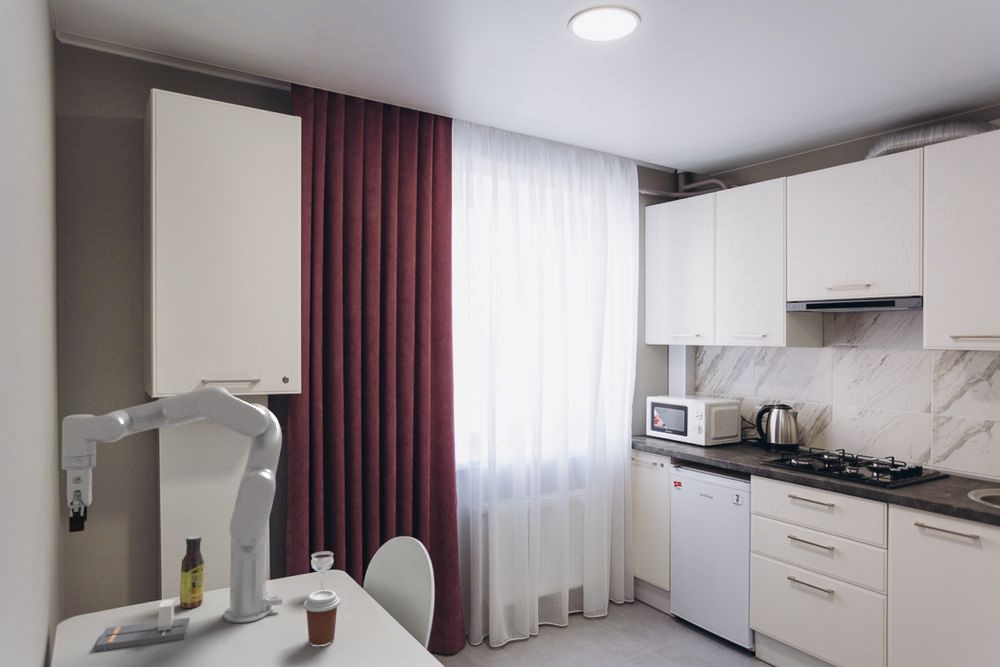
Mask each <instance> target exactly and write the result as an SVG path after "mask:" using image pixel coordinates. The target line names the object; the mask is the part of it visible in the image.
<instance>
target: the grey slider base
mask: <svg viewBox="0 0 1000 667" xmlns="http://www.w3.org/2000/svg"><path fill="white" fill-rule="evenodd" d="M190 620H191V618H190V617H183V618H174V623H173V625H172V628H171V629H169V630H161V631H158V621H151V622H150V621H149V622H144V623H137V624H136V623H135V624H128V625H122V626H121V625H119V626H113V627H106V628H105V630H104V631H103V633H102V635H101V636H100V638H99V640H98V641H97V643H96V644H95V652H98V651H97V650H102V651H105V650H104V649H109V650H112V649H111V648H116V649H121V648H120V647H123V648H128V646H130V647H137V645H138V646H143V645H151V644H157V643H165V642H171V641H180V640H179V639H181V640H185V638H184V637H186V635H185V634H187V632H186V631H188V629H187V628H189V626H188V625H190V623H191V622H190ZM189 622H190V623H189ZM118 647H119V648H118Z"/></svg>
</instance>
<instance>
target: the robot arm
mask: <svg viewBox="0 0 1000 667" xmlns="http://www.w3.org/2000/svg"><path fill="white" fill-rule="evenodd" d="M206 419H207V420H209V421H211V422H212V423H215V424H217V425H219V426H221V427H223V428H226V429H228V430H230V431H231V432H234V433H237V434H238V435H240V436H244V437H246V438H250V446H249V451H248V455H247V460H246V463H245V467H244V471H243V474H242V477H241V478H240V481H239V486H238V489H237V495H236V498H235V503H234V507H233V512H232V515H231V518H230V521H229V522H230V523H229V527H228V529H229V535H230V568H229V569H230V575H229V576H230V577H229V578H230V582H229V584H230V585H229V587H230V589H229V607H228V608H226V609H225V610H224V612H223V618H224V620H226V621H227V622H230V623H238V624H240V623H242V624H243V623H251V622H254V621H258V620H261V619H264V618H265V617H267V616H268V615H269V614H270V613H271V611H272V606H281V605H283V597H279V596H278V595H273V596H270V595H268V591H267V535H268V534H267V533H268V530H267V528H268V525H269V524H268V523H269V520H270V515H271V512H272V507H273V502H274V499H275V495H276V486H277V485H276V475H277V474H276V473H277V469H278V466H279V465H278V464H279V459H280V454H281V450H282V449H281V448H282V442H283V434H282V428H281V425H280V423H279V420H278V418H277V417H276V416H275V414H274V413H273V412H272V411H270V409H268V408H267V407H266V406H264V405H262V404H260V403H248V402H247V401H244V400H242V399H240V398H238V397H236V396H234V395H232V394H230V391H228V389H226V388H225V387H223V386H220V385H214V386H207V387H203V388H200V389H196V390H192V391H187V392H183V393H179V394H175V395H171V396H167V397H163V398H160V399H157V400H155V401H151V402H148V403H144V404H138V405H136V406H135V405H134V406H131V407H126V408H122V409H118V410H116V411H112V412H109V413H107V414H103V415H102V414H101V415H97V416H96V415H94V414H88V413H83V414H82V413H81V414H71V415H68V416H65V417H64V418H63V420H62V427H61V428H62V432H61V433H62V436H61V440H62V441H61V442H62V443H61V470H65V471H66V474H67V475H66V483H67V484H66V497H67V507H68V508H70V512H69V515H70V516H69V518H68V521H69V522H68V523H69V524H68V531H69V532H68V533H76V532H84V530H85V523H86V522H87V520H88V507H89V506H90V505H91V504H92V501H93V470H92V468H94V467H96V466H97V443H114V442H117V441H120V440H121V439H122V438H124V437H127V436H131V435H135V434H137V433H141V432H144V431H145V432H146V431H148V430H153V429H160V428H161V429H162V428H164V429H166V428H167V429H169V428H177V427H179V426H182V425H183V426H184V425H186V424H191V423H195V422H198V421H202V420H206Z"/></svg>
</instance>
